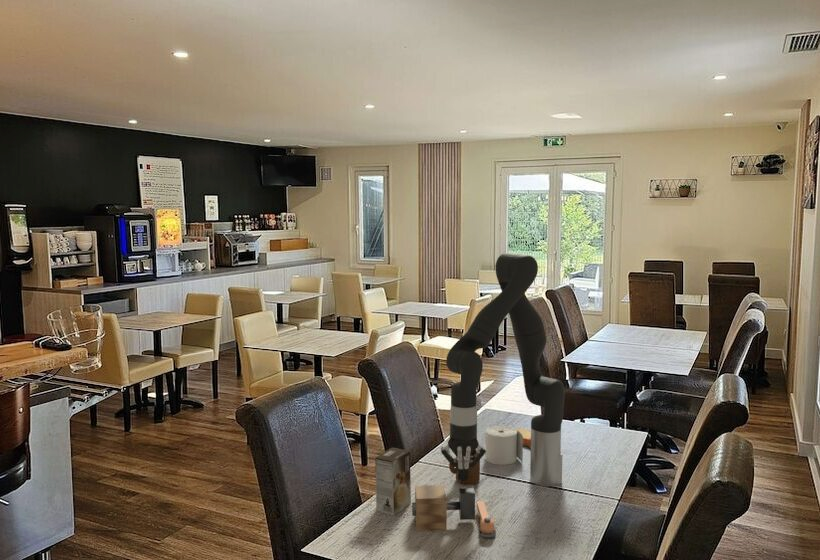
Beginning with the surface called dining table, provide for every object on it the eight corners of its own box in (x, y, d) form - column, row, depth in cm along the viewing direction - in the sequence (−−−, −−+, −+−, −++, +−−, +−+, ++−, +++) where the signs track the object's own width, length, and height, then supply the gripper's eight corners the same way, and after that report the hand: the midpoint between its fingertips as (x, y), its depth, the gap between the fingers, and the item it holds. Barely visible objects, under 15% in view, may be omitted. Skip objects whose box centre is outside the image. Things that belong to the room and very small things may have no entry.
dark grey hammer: (473, 514, 175) (473, 488, 174) (474, 519, 172) (475, 493, 171) (412, 515, 174) (411, 489, 173) (412, 521, 171) (412, 494, 170)
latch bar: (486, 507, 179) (486, 497, 179) (495, 533, 165) (495, 522, 164) (473, 507, 179) (473, 497, 179) (481, 533, 164) (481, 522, 164)
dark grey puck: (494, 530, 169) (494, 526, 169) (497, 538, 164) (497, 535, 164) (477, 530, 168) (477, 527, 168) (480, 539, 164) (480, 535, 164)
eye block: (443, 515, 177) (443, 485, 176) (446, 530, 169) (446, 498, 168) (415, 516, 177) (415, 485, 176) (416, 530, 169) (416, 498, 168)
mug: (459, 492, 191) (459, 462, 190) (441, 484, 197) (441, 455, 196) (484, 480, 199) (484, 452, 198) (466, 473, 205) (466, 445, 204)
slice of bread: (501, 432, 244) (501, 422, 243) (549, 434, 241) (549, 424, 241) (500, 449, 226) (500, 439, 226) (552, 452, 223) (552, 441, 223)
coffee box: (393, 498, 188) (392, 446, 186) (411, 503, 185) (411, 450, 183) (375, 510, 180) (374, 456, 178) (394, 516, 177) (393, 461, 175)
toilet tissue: (484, 453, 222) (484, 425, 221) (518, 453, 222) (518, 425, 221) (486, 465, 211) (487, 436, 210) (522, 465, 211) (523, 436, 210)
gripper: (440, 425, 171) (440, 486, 172) (489, 424, 171) (488, 486, 173) (438, 416, 178) (438, 475, 180) (485, 415, 179) (484, 474, 180)
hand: (462, 480), depth 176 cm, fingers closed
